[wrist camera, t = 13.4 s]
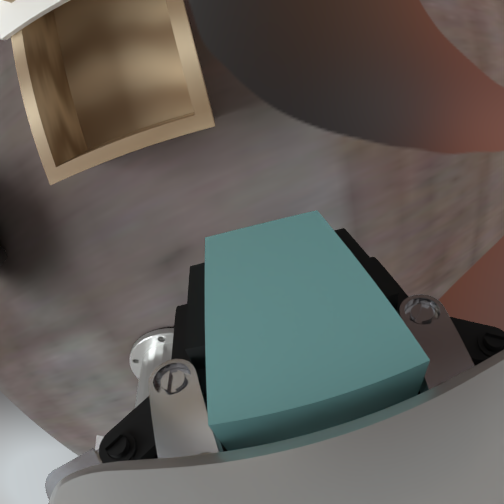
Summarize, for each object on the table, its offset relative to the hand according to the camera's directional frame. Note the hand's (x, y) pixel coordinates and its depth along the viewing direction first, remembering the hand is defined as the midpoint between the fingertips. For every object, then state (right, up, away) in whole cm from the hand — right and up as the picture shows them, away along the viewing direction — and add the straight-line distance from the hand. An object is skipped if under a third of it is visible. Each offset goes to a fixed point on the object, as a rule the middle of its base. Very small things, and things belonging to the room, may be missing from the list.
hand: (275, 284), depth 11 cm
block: (0, 0, +1) cm, 1 cm away
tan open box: (-12, +18, +8) cm, 23 cm away
